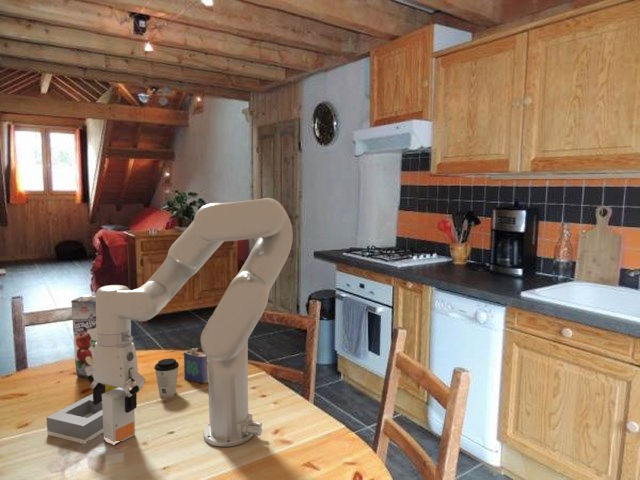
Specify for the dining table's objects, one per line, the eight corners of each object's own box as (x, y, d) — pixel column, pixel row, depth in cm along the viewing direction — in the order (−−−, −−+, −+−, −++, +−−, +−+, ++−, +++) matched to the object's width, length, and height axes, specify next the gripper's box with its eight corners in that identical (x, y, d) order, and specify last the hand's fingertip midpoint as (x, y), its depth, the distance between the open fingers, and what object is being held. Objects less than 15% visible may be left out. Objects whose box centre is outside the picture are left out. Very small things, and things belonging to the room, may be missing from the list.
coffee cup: (164, 401, 131) (163, 368, 130) (150, 395, 135) (149, 362, 134) (184, 393, 136) (183, 360, 135) (170, 387, 141) (169, 355, 140)
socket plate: (127, 416, 122) (127, 400, 122) (84, 443, 109) (83, 426, 109) (93, 409, 126) (92, 393, 126) (47, 434, 113) (46, 417, 113)
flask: (209, 382, 144) (208, 349, 143) (203, 385, 142) (202, 352, 141) (188, 376, 149) (187, 344, 148) (181, 379, 146) (180, 347, 145)
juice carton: (89, 368, 156) (85, 290, 153) (118, 369, 154) (114, 291, 151) (71, 378, 147) (66, 296, 144) (102, 380, 145) (97, 297, 143)
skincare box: (114, 446, 108) (111, 398, 107) (103, 441, 110) (100, 393, 109) (136, 434, 113) (134, 388, 112) (125, 430, 115) (123, 384, 114)
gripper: (154, 338, 109) (154, 406, 111) (98, 328, 115) (99, 393, 117) (131, 347, 102) (132, 420, 104) (73, 337, 108) (74, 406, 110)
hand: (114, 406), depth 111 cm, fingers open, 9 cm apart
